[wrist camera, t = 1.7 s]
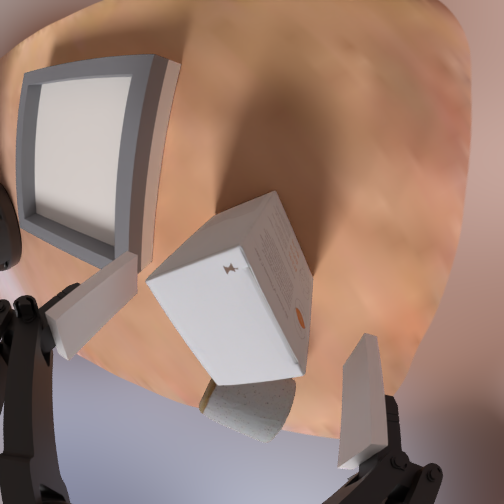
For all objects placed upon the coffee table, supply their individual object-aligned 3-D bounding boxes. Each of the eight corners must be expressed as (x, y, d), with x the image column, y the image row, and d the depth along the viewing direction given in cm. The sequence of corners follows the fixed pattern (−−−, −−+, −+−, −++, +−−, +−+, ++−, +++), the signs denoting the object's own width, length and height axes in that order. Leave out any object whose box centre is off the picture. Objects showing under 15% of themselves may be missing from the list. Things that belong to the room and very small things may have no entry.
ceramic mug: (227, 338, 27) (200, 396, 21) (301, 366, 27) (290, 428, 20) (208, 388, 32) (186, 435, 26) (267, 410, 32) (253, 459, 25)
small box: (213, 214, 22) (139, 277, 13) (277, 188, 20) (238, 241, 11) (254, 296, 24) (215, 389, 15) (315, 279, 22) (306, 378, 13)
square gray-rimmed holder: (42, 216, 27) (20, 227, 24) (50, 73, 19) (24, 73, 16) (152, 261, 25) (128, 281, 22) (181, 64, 17) (154, 54, 14)
